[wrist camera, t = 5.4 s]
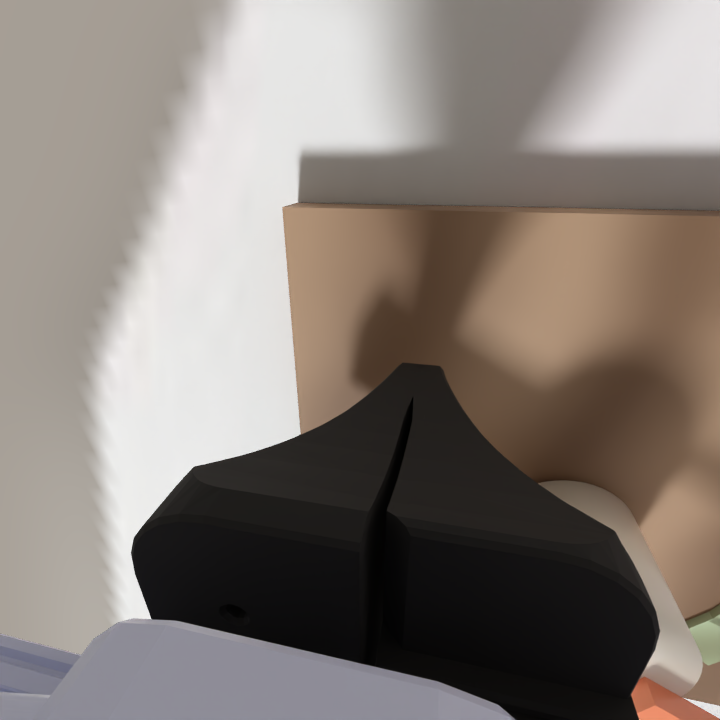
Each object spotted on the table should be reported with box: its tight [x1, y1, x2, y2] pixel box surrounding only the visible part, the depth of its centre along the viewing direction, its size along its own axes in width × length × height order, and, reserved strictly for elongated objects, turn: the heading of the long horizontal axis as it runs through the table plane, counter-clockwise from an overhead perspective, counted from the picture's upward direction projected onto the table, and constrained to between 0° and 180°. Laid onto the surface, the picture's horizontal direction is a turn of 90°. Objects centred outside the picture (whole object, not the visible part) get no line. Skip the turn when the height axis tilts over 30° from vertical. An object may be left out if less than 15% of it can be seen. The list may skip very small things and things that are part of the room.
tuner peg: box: [538, 480, 720, 720], centre depth 12 cm, size 16×4×5 cm, turn 62°
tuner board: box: [282, 203, 720, 706], centre depth 14 cm, size 18×18×1 cm
